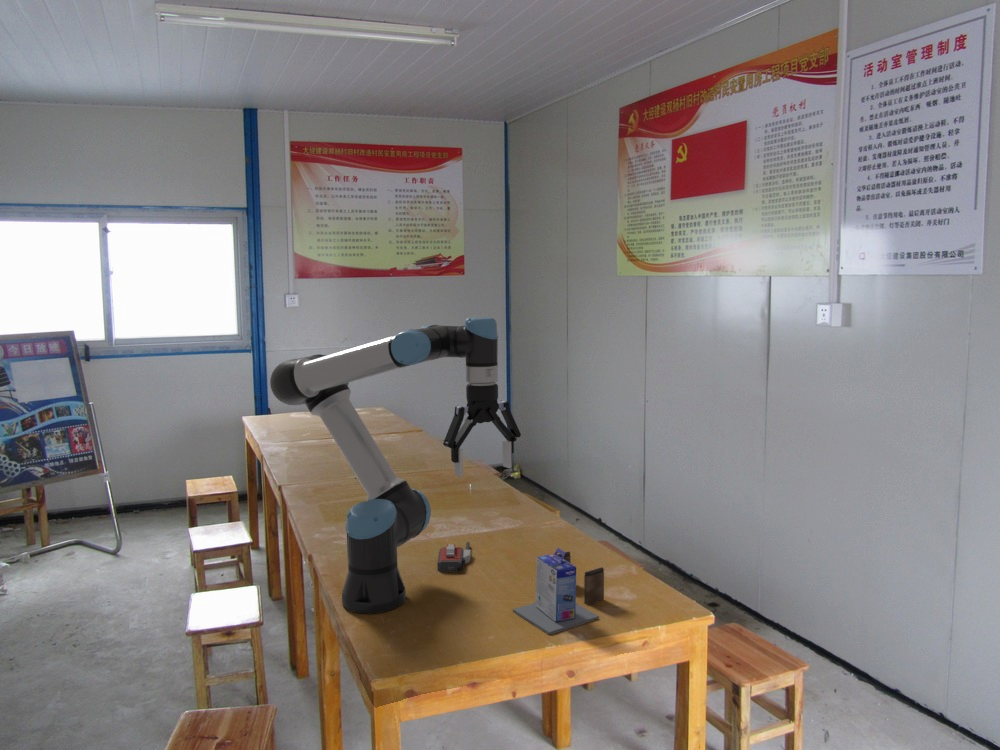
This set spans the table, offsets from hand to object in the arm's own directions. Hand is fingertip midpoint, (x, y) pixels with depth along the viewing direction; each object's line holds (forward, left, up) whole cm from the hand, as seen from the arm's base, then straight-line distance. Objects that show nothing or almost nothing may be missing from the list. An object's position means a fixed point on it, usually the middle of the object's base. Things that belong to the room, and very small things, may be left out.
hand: (483, 471), depth 183 cm
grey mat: (+7, -19, -31) cm, 37 cm away
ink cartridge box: (+7, -19, -30) cm, 36 cm away
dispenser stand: (+19, -12, -31) cm, 38 cm away
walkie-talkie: (+5, +24, -31) cm, 40 cm away
